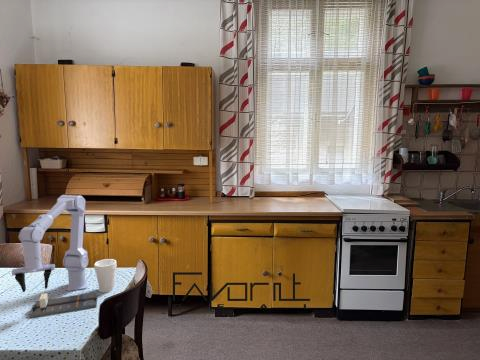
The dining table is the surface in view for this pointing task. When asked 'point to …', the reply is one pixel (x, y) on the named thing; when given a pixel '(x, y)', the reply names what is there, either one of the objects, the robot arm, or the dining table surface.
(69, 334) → the dining table surface
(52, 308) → the console
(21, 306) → the dining table surface
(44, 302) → the block
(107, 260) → the foam cup
